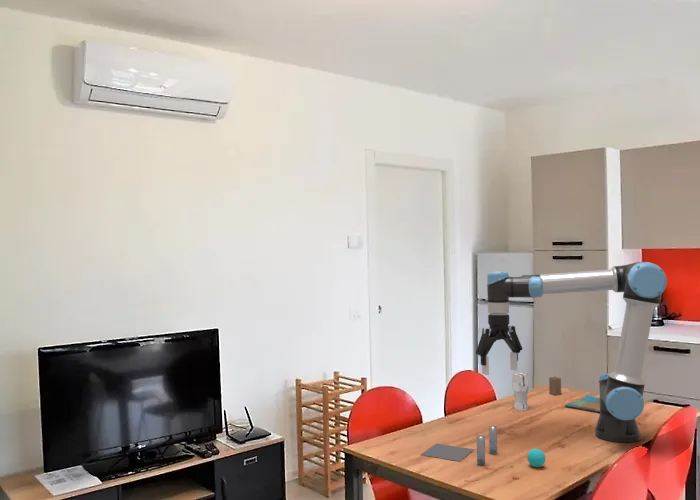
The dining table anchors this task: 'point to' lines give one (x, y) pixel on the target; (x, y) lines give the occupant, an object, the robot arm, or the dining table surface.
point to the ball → (536, 458)
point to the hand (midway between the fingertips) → (499, 372)
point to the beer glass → (520, 390)
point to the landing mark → (447, 452)
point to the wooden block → (555, 386)
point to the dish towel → (586, 404)
